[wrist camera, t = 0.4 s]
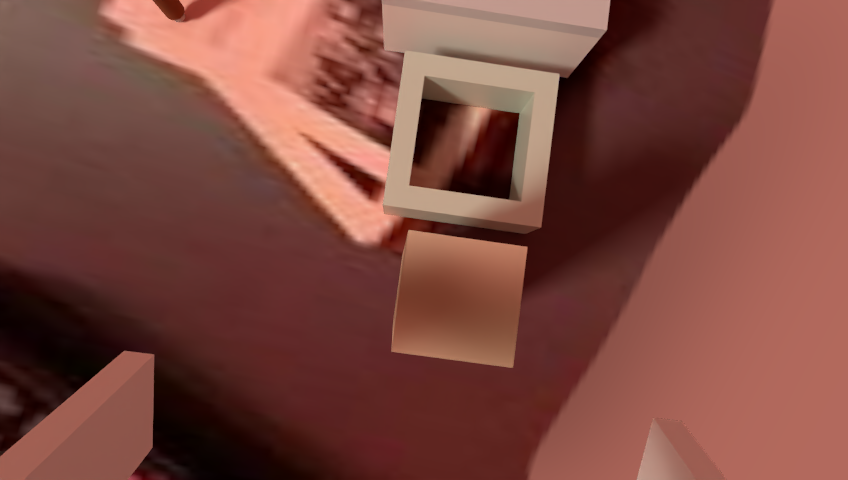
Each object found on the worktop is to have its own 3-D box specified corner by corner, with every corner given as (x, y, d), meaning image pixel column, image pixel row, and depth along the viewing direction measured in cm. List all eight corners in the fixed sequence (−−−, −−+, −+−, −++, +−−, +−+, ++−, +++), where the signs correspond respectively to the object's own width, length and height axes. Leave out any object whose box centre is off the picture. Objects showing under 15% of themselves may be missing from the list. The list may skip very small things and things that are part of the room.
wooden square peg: (457, 329, 36) (512, 367, 19) (393, 320, 36) (391, 351, 19) (465, 265, 36) (527, 246, 19) (402, 256, 36) (408, 230, 19)
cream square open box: (525, 233, 36) (541, 227, 32) (384, 213, 36) (382, 204, 32) (542, 96, 37) (559, 73, 33) (404, 75, 37) (405, 50, 33)
